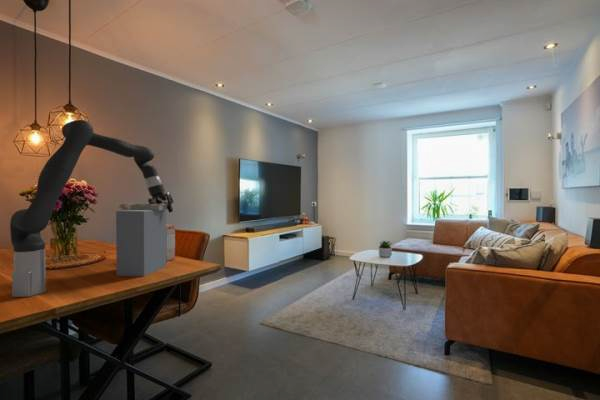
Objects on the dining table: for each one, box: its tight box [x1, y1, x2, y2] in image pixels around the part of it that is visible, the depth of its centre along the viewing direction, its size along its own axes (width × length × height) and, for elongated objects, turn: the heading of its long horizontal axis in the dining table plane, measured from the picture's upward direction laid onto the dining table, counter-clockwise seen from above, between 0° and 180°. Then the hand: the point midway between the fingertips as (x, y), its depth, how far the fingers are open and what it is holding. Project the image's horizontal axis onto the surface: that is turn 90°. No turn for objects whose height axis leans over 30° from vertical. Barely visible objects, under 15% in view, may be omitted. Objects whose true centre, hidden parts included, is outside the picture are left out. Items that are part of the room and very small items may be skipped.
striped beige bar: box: [117, 203, 163, 211], centre depth 158 cm, size 22×4×3 cm, turn 85°
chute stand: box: [115, 204, 168, 277], centre depth 153 cm, size 16×20×33 cm
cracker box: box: [166, 223, 176, 262], centre depth 181 cm, size 14×6×21 cm, turn 58°
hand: (165, 213), depth 163 cm, fingers open, 8 cm apart
